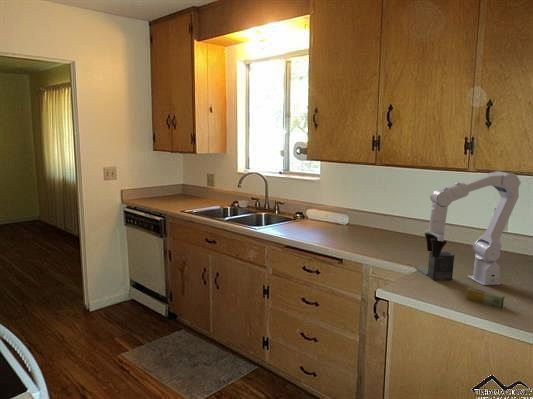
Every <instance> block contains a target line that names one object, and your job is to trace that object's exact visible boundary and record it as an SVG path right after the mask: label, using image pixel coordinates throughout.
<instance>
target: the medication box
mask: <svg viewBox="0 0 533 399" xmlns="http://www.w3.org/2000/svg"><path fill="white" fill-rule="evenodd" d="M465 299H466V300H468V301H471V302H475V303H479V304H481V305H482V304H483V305H486V306H489V307H493V308H497V309H500V310H503V309H504V308H505V303H506V296H504V295H501V294H497V293H492V292H488V291H484V290H481V289H476V288H471V287H468V288H467V289H466V296H465Z"/></svg>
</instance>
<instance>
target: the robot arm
mask: <svg viewBox="0 0 533 399" xmlns="http://www.w3.org/2000/svg"><path fill="white" fill-rule="evenodd" d="M521 184H522V183H521V180H520V178H519V176H518V175H517V174H515V173H512V172H509V173H508V172H504V171H500V170H495V171H493V172H488V173H487V174H485V175H483V176H480V177H479V178H476V179H474V180H472V181H470V182H466V183H464V182H459V181H457V182H454V184H453V185H450V186H448V187H447V186H445V187H443V189H436V190H434V191H433V192H432V194H431V195H430V201H431V204H432V205H431V209H430V210H431V211H430V217H429V225H428V229H425V231H424V237H425V240H426V250H427V252H432V256H433V257H439V255H440V253H441V252H442V250H443V248H444V247H445V246H446V244H447V240H446V239H445V228H446V222H447V215H448V209H449V206H450V205H452V203H453V202H455V201H458V200H460V199H463V198H466V197H467V196H469V194H470V193H471V192H474V191H476V190H479V189H483V188H486V187H493V188H494V189H495V190H497V192H498V194H499V195H500V198H499V202H498V203H497V206H496V208H495V210H494V213H493V215H492V217H491V219H490V221H489V223H488V226H487V228H486V230H485V232H484V234H481V235H479V237H478V239H477V240H476V241H475V242H474V243H473V245H472V251H473V253H474V265H473V272H472V273H473V274H472V275H467V278H469V279H471V280H473V281H475V283H476V282H477V283H478V284H480V285H482V286H489V285H490V286H495V285H501V282H500V278H501V277H500V276H501V267H500V265H499V264H497V260H499V259H500V256H501V248H502V246H503V245H502V242H501V236H502V235H503V232H504V229H505V228H506V226H507V224H508V221H509V219H510V216H511V215H512V212H513V210H514V208H515V205H517V204H516V203H517V202H518V200H519V197H520V196H519V192H520V191H519V187H520V186H521ZM444 239H445V240H444Z"/></svg>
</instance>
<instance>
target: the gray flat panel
mask: <svg viewBox="0 0 533 399" xmlns="http://www.w3.org/2000/svg"><path fill="white" fill-rule="evenodd" d="M414 269H416V270H417V271H419V273H421V274H423V275H424V276H428V266H414Z"/></svg>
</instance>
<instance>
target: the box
mask: <svg viewBox="0 0 533 399" xmlns="http://www.w3.org/2000/svg"><path fill="white" fill-rule="evenodd" d="M454 262H455V254H454V253H451V252H450V251H447V250H446V251H441V253H440V255H439V257H433V256H432V252H431V251H429V255H428V265H427V267H428V275H427V276H428V278H430V279H432V280H433V281H452V280H453V275H454Z"/></svg>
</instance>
